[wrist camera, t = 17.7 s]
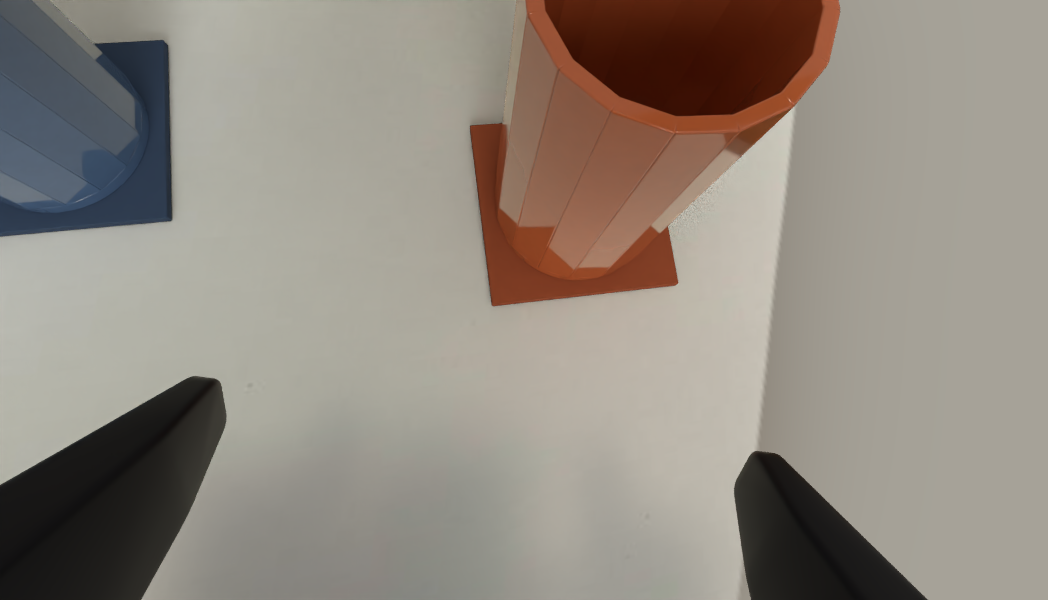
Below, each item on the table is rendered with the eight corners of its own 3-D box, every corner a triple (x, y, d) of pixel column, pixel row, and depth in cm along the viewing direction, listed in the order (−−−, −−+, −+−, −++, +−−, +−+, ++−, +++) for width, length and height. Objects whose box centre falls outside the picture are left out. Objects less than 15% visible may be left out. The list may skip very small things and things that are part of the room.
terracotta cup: (585, 313, 24) (718, 199, 11) (462, 209, 24) (454, -16, 12) (681, 198, 25) (896, -19, 13) (563, 101, 26) (655, -204, 13)
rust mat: (675, 285, 25) (678, 283, 25) (492, 306, 24) (492, 304, 24) (644, 116, 26) (646, 111, 26) (469, 129, 25) (469, 125, 25)
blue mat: (171, 221, 23) (167, 217, 23) (-45, 240, 22) (-54, 237, 22) (167, 45, 25) (163, 39, 24) (-36, 57, 24) (-44, 51, 24)
